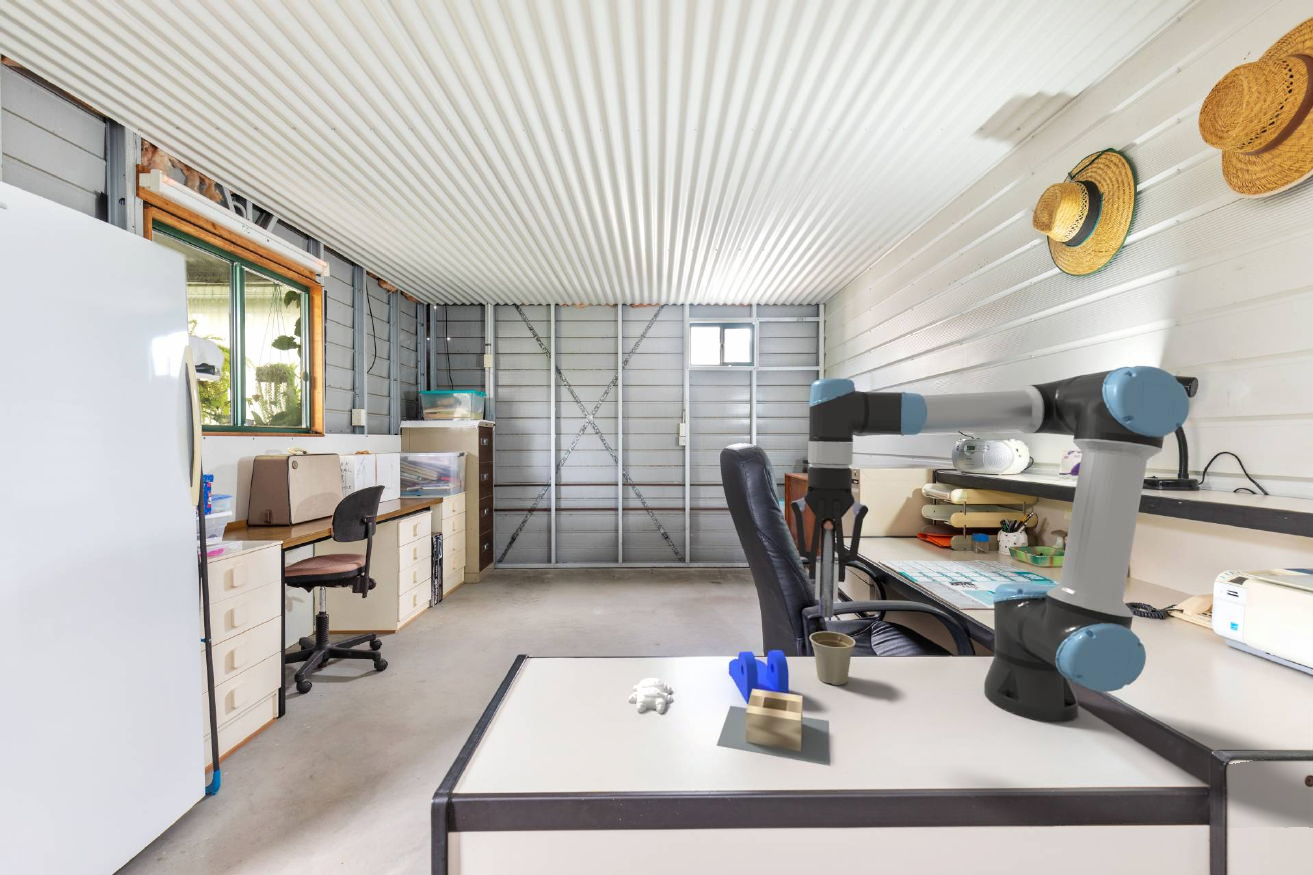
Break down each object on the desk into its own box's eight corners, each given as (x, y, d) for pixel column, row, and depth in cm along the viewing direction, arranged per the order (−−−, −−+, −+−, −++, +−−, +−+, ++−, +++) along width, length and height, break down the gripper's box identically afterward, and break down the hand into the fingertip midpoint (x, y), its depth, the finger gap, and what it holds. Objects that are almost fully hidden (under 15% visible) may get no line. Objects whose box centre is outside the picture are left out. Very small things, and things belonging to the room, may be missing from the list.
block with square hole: (802, 723, 96) (802, 695, 96) (800, 751, 87) (800, 720, 87) (752, 715, 98) (752, 688, 98) (745, 741, 90) (745, 712, 90)
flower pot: (840, 693, 108) (840, 651, 108) (800, 678, 115) (801, 638, 115) (863, 680, 114) (863, 639, 114) (824, 666, 121) (824, 628, 121)
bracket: (788, 704, 104) (788, 658, 104) (747, 706, 103) (747, 660, 103) (760, 665, 122) (760, 626, 122) (724, 667, 121) (725, 627, 121)
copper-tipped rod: (833, 613, 95) (836, 517, 95) (833, 618, 92) (836, 519, 93) (818, 612, 96) (821, 516, 96) (818, 616, 93) (821, 518, 93)
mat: (828, 722, 97) (828, 720, 97) (829, 766, 83) (829, 765, 83) (730, 707, 102) (730, 705, 102) (716, 746, 89) (716, 745, 89)
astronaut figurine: (624, 713, 100) (624, 696, 100) (635, 684, 112) (636, 670, 112) (669, 717, 99) (670, 701, 99) (676, 687, 111) (677, 673, 111)
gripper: (874, 467, 95) (871, 597, 95) (786, 463, 100) (783, 588, 100) (878, 468, 88) (874, 610, 88) (783, 465, 93) (780, 599, 93)
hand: (826, 598), depth 94 cm, fingers closed on copper-tipped rod, 2 cm apart
